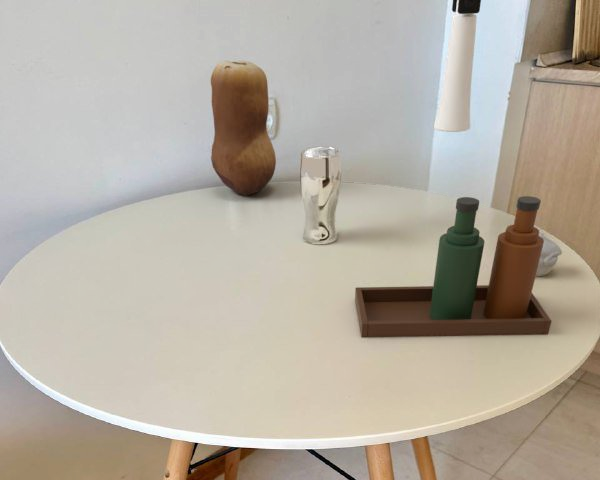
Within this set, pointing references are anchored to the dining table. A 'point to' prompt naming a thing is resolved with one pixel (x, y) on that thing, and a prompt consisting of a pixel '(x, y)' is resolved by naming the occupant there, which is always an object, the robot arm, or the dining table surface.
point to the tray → (417, 322)
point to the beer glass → (320, 192)
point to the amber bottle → (515, 264)
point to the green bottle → (458, 265)
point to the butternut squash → (241, 127)
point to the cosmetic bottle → (457, 76)
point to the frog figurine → (547, 256)
